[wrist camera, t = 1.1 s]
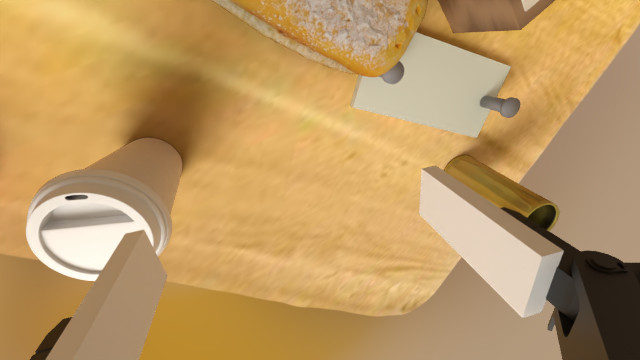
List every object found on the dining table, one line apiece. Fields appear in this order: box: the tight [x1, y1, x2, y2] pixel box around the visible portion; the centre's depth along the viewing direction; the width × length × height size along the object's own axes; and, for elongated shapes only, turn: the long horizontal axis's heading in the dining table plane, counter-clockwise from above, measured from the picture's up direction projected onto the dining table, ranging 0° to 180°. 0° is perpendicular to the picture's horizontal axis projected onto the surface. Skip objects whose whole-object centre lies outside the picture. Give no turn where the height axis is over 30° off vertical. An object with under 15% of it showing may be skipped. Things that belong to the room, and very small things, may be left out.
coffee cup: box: [26, 138, 183, 281], centre depth 27 cm, size 10×10×15 cm
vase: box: [444, 155, 559, 231], centre depth 39 cm, size 6×6×14 cm
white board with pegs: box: [350, 32, 520, 138], centre depth 35 cm, size 10×20×6 cm, turn 75°
